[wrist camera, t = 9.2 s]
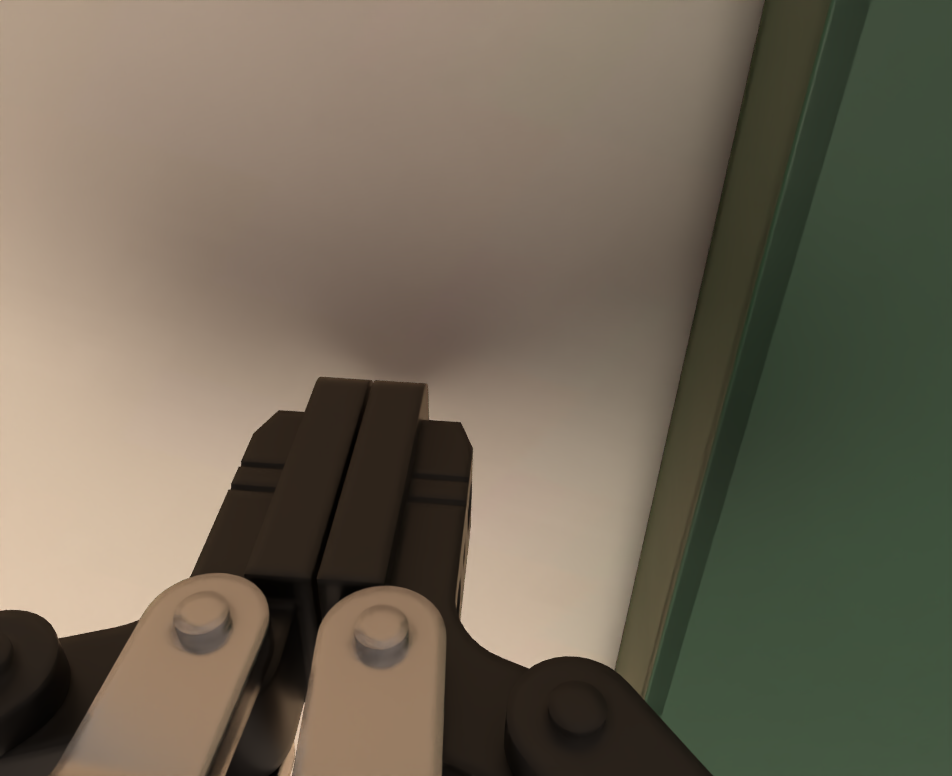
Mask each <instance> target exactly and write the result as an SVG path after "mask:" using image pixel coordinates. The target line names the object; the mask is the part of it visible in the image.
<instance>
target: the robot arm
mask: <svg viewBox="0 0 952 776" xmlns="http://www.w3.org/2000/svg"><path fill="white" fill-rule="evenodd" d="M472 465H473V447H472V445H471V443H470V441H469V439H468V437H467V435H466V432H465V430H464V428H463V426H462V424H461V422H448V421H433V420H429V397H428V385H427V384H426V383H411V382H396V381H380V380H375V381H374V383H373V381H372V380H362V379H346V378H331V377H319V378H318V379H317V381H316V383H315V386H314V389H313V391H312V394H311V397H310V399H309V402H308V404H307V407H306V410H305V412H296V411H281V410H279V411H278V412H277V413H275V414H274V415H273V416H272V417H271V418H270V419H269V420H268V421H267V422H266V423H264V424H263V425H262V426H261V427H260V428H259V429H258V430H257V431H256V432H255V433H253V436H252V438H251V440H250V442H249V445H248V447H247V449H246V452H245V454H244V456H243V458H242V461H241V467H238V470H237V472H236V474H235V477H234V479H233V481H232V483H231V490H228V492H227V495H226V497H225V499H224V502H223V504H222V506H221V508H220V511H219V513H218V515H217V517H216V520H215V522H214V524H213V527H212V529H211V531H210V533H209V536H208V538H207V540H206V543H205V545H204V547H203V549H202V552H201V554H200V556H199V558H198V561H197V563H196V565H195V568H194V570H193V572H192V574H191V576H190V578H187V579H185V580H182V581H180V582H178V583H176V584H174V585H172V586H171V587H169V588H168V589H166V590H165V591H163V592H162V593H161V594H160V595H158V596H157V597H156V598H155V599H154V600H153V601H152V602H151V604H150V605H149V606H148V607H147V609H146V610H145V612H144V613H143V615H142V617H141V618H140V620H138V621H135V622H132V623H130V624H127V625H123V626H119V627H115V628H110V629H104V630H99V631H94V632H89V633H84V634H79V635H74V636H69V637H64V638H59V639H58V637H57V634H56V632H55V630H54V629H53V627H52V625H51V624H50V623H49V622H48V621H47V620H46V619H45V618H43V617H41V616H39V615H37V614H34V613H31V612H28V611H21V610H4V611H0V776H290V774H291V771H292V768H293V764H294V768H293V773H292V776H713V775H712V774H711V773H710V772H709V771H708V770H707V768H706V767H705V766H704V765H703V764H702V763H701V762H700V761H699V760H698V759H697V757H696V756H695V755H694V754H693V753H692V752H691V751H690V750H689V749H688V748H687V746H686V745H685V744H684V743H683V742H682V741H681V740H680V739H679V738H678V737H677V735H676V734H675V733H674V732H673V731H672V730H671V729H670V728H669V727H668V726H667V724H666V723H665V722H664V721H663V720H662V719H661V718H660V717H659V716H658V715H657V713H656V712H655V711H654V710H653V709H652V708H651V707H650V706H649V705H648V704H647V702H646V701H645V700H644V699H643V698H642V697H641V696H640V695H639V694H638V693H637V691H636V690H635V689H634V688H633V687H632V686H631V685H630V684H629V683H628V682H627V681H626V680H625V679H624V678H623V677H622V676H621V675H620V674H618V673H617V672H615V671H614V670H613V669H611V668H610V667H608V666H606V665H604V664H602V663H599V662H596V661H593V660H590V659H587V658H581V657H568V656H565V657H557V658H552V659H548V660H545V661H542V662H540V663H538V664H536V665H534V666H533V667H531V668H530V669H528V668H526V667H523V666H521V665H518V664H516V663H513V662H511V661H508V660H506V659H503V658H501V657H499V656H497V655H495V654H493V653H491V652H489V651H488V650H486V649H484V648H483V647H481V646H480V645H479V644H478V643H477V642H476V641H475V640H473V639H472V637H471V636H470V635H469V634H468V633H467V631H466V630H465V628H464V627H463V625H462V623H461V621H460V618H461V609H462V600H463V591H464V580H465V573H466V564H467V555H468V546H469V537H470V528H471V499H472ZM304 702H305V706H304V712H303V717H302V723H301V728H300V734H299V740H298V745H297V751H296V756H295V745H294V739H295V735H296V731H297V727H298V724H299V720H300V716H301V712H302V708H303V705H304ZM294 760H295V762H294Z"/></svg>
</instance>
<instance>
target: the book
mask: <svg viewBox="0 0 952 776" xmlns="http://www.w3.org/2000/svg"><path fill="white" fill-rule="evenodd" d="M615 672H617V673H618V674H620V675H621V676H622V677H623V678H624V679H625V680H626V681H627V682H628V683H629V684H630V685H631V686H632V687H633V688H634V689H635V690H636V691H637V693H638V694H639V695H640V696H641V697H642V698H643V699H644V700H645V701H646V702H647V704H648V705H649V706H650V707H651V708H652V709H653V710H654V711H655V712H656V713H657V715H658V716H659V717H660V718H661V719H662V720H663V721H664V722H665V723H666V724H667V726H668V727H669V728H670V729H671V730H672V731H673V732H674V733H675V734H676V735H677V737H678V738H679V739H680V740H681V741H682V742H683V743H684V744H685V745H686V746H687V748H688V749H689V750H690V751H691V752H692V753H693V754H694V755H695V756H696V757H697V759H698V760H699V761H700V762H701V763H702V764H703V765H704V766H705V767H706V768H707V770H708V771H709V772H710V773H711V774H712V775H713V776H952V0H765V3H764V7H763V12H762V16H761V21H760V25H759V30H758V34H757V38H756V43H755V47H754V52H753V56H752V61H751V65H750V70H749V74H748V79H747V83H746V88H745V92H744V96H743V101H742V105H741V110H740V114H739V119H738V123H737V128H736V132H735V137H734V141H733V146H732V150H731V154H730V159H729V163H728V168H727V172H726V177H725V181H724V186H723V190H722V195H721V199H720V204H719V208H718V213H717V217H716V221H715V226H714V230H713V235H712V239H711V244H710V248H709V253H708V257H707V262H706V266H705V271H704V275H703V279H702V284H701V288H700V293H699V297H698V302H697V306H696V311H695V315H694V320H693V324H692V329H691V333H690V337H689V342H688V346H687V351H686V355H685V360H684V364H683V369H682V373H681V378H680V382H679V387H678V391H677V395H676V400H675V404H674V409H673V413H672V418H671V422H670V427H669V431H668V436H667V440H666V445H665V449H664V454H663V458H662V462H661V467H660V471H659V476H658V480H657V485H656V489H655V494H654V498H653V503H652V507H651V512H650V516H649V520H648V525H647V529H646V534H645V538H644V543H643V547H642V552H641V556H640V561H639V565H638V570H637V574H636V578H635V583H634V587H633V592H632V596H631V601H630V605H629V610H628V614H627V619H626V623H625V628H624V632H623V636H622V641H621V645H620V650H619V654H618V659H617V663H616V668H615Z"/></svg>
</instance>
